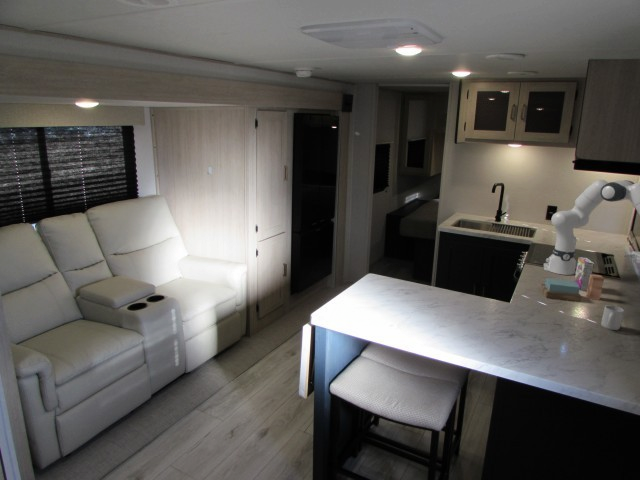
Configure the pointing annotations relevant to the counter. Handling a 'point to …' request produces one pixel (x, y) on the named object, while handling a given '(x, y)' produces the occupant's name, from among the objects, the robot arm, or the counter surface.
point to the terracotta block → (595, 287)
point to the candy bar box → (583, 273)
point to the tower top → (562, 286)
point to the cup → (612, 317)
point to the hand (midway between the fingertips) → (628, 258)
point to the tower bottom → (559, 295)
